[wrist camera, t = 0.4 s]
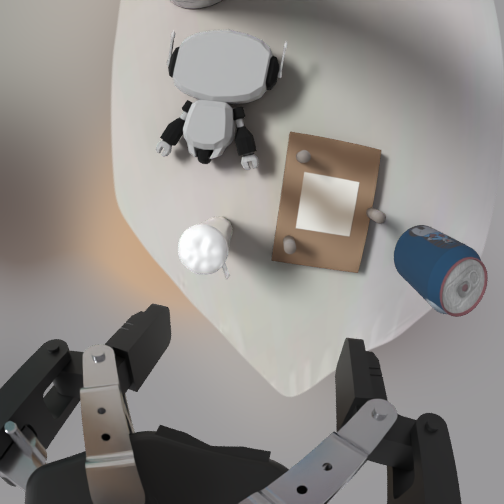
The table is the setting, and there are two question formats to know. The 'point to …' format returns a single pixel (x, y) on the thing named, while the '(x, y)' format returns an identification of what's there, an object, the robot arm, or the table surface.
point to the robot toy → (218, 91)
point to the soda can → (441, 270)
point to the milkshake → (206, 246)
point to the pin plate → (326, 203)
